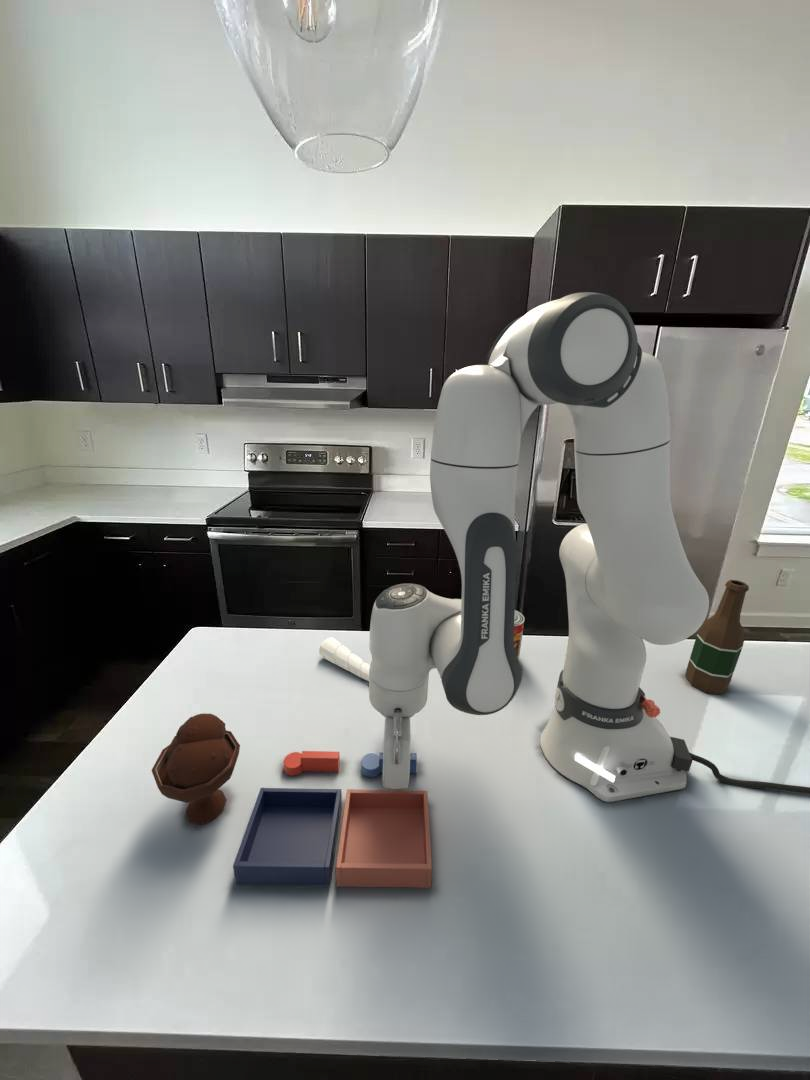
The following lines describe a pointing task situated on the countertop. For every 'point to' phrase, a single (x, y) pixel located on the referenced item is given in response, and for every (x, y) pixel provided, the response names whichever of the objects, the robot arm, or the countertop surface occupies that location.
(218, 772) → the ice cream bowl
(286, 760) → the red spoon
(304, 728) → the countertop surface
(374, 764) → the blue elongated piece
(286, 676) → the countertop surface
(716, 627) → the beer bottle
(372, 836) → the red bin
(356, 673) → the unicorn horn
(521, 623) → the canned food
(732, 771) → the countertop surface
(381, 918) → the countertop surface
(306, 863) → the blue bin
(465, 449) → the robot arm
